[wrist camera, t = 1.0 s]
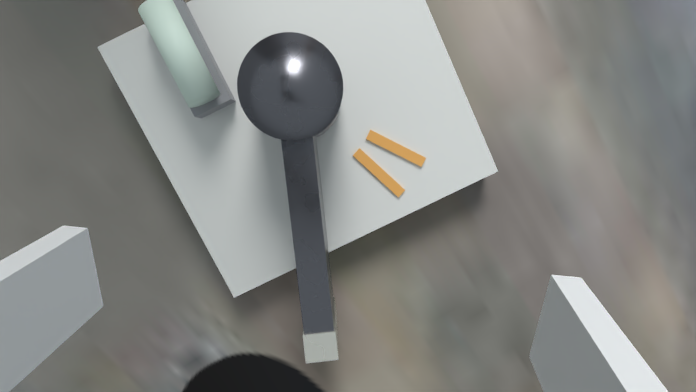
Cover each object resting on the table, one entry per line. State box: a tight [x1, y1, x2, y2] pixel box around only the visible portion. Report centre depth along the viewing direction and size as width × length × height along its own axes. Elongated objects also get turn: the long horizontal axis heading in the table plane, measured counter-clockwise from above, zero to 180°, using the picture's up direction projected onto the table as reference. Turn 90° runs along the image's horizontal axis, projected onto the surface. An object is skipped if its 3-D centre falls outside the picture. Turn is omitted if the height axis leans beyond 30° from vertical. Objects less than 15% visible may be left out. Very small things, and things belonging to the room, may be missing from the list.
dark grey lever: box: [237, 32, 343, 363], centre depth 29 cm, size 21×6×7 cm, turn 6°
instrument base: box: [97, 0, 498, 298], centre depth 32 cm, size 22×24×7 cm
